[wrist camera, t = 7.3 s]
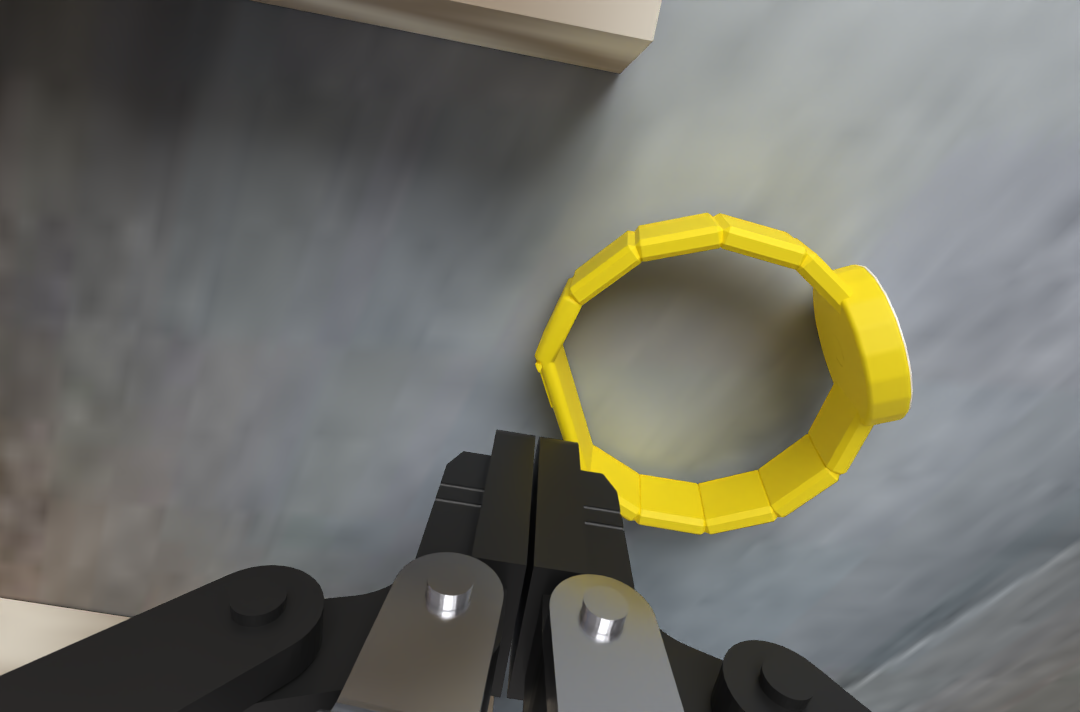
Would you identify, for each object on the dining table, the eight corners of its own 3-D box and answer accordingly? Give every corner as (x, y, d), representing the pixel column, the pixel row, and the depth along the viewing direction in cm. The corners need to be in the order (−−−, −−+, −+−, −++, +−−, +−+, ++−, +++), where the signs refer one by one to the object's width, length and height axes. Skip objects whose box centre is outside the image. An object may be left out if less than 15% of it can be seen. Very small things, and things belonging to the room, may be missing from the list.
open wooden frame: (636, -6, 10) (679, -79, 6) (489, 707, 15) (472, 861, 12) (-476, -233, 9) (-1070, -450, 6) (-204, 604, 15) (-425, 738, 11)
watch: (483, 304, 9) (879, 167, 8) (514, 262, 12) (818, 153, 10) (604, 584, 11) (942, 518, 10) (609, 497, 14) (879, 434, 12)
